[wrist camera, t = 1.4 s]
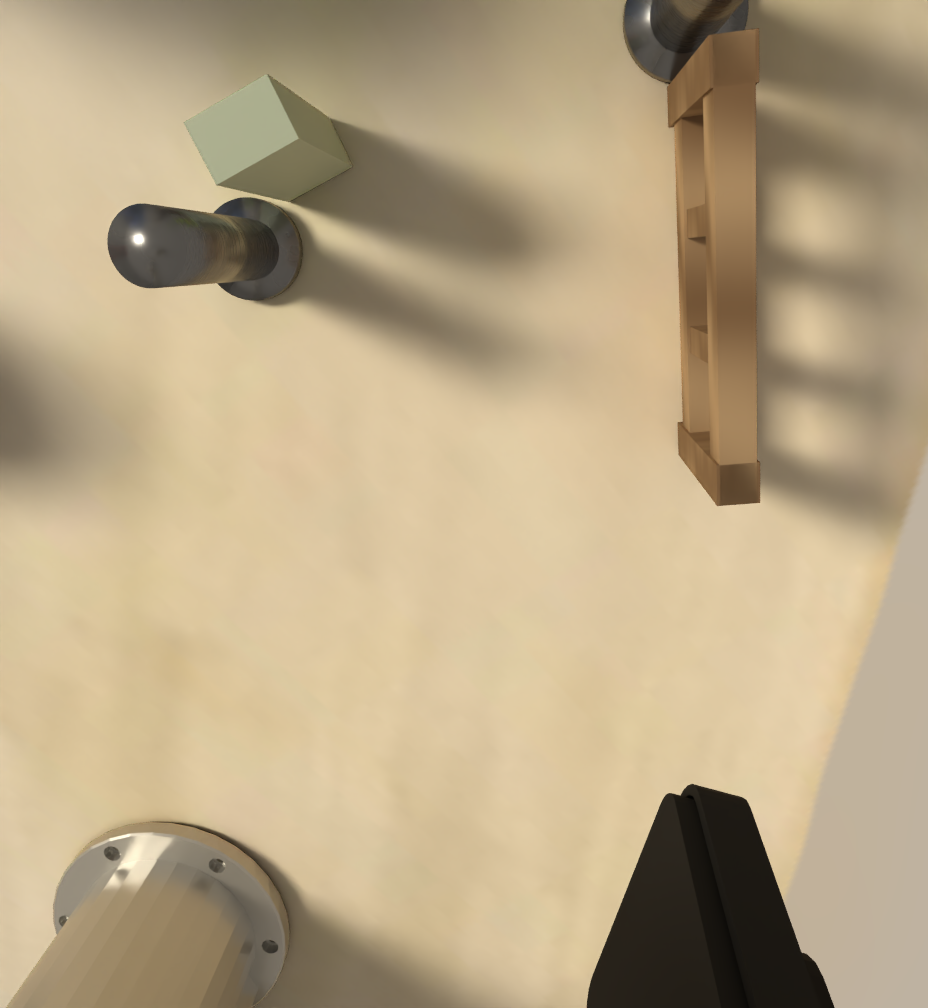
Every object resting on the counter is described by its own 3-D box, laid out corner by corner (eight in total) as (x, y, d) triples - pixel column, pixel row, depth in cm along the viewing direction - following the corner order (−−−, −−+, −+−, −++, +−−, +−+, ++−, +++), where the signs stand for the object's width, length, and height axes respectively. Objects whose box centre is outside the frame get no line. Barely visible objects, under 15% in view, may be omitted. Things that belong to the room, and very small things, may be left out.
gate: (667, 87, 31) (708, 35, 24) (705, 82, 31) (758, 28, 23) (678, 454, 35) (717, 505, 27) (712, 452, 35) (760, 502, 27)
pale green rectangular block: (353, 166, 33) (298, 138, 25) (288, 201, 33) (216, 185, 26) (329, 117, 32) (266, 73, 25) (264, 154, 33) (183, 122, 25)
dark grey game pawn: (319, 273, 34) (237, 279, 24) (238, 315, 35) (127, 337, 25) (272, 180, 33) (167, 148, 23) (190, 226, 34) (56, 214, 24)
